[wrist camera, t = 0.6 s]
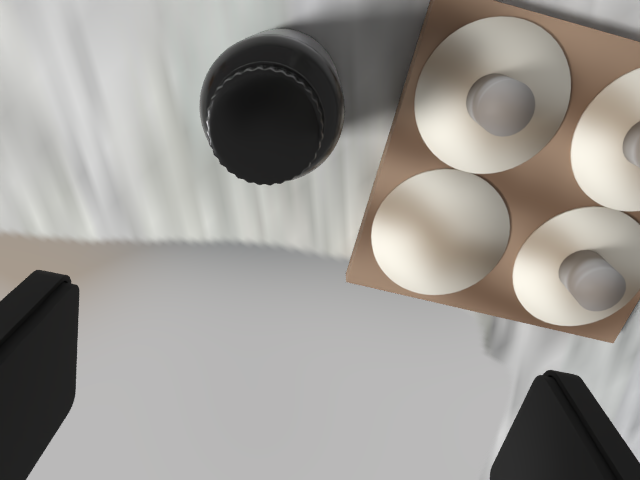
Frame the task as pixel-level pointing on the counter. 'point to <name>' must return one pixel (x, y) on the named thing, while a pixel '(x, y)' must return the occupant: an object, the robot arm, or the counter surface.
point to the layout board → (511, 172)
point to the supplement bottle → (272, 106)
